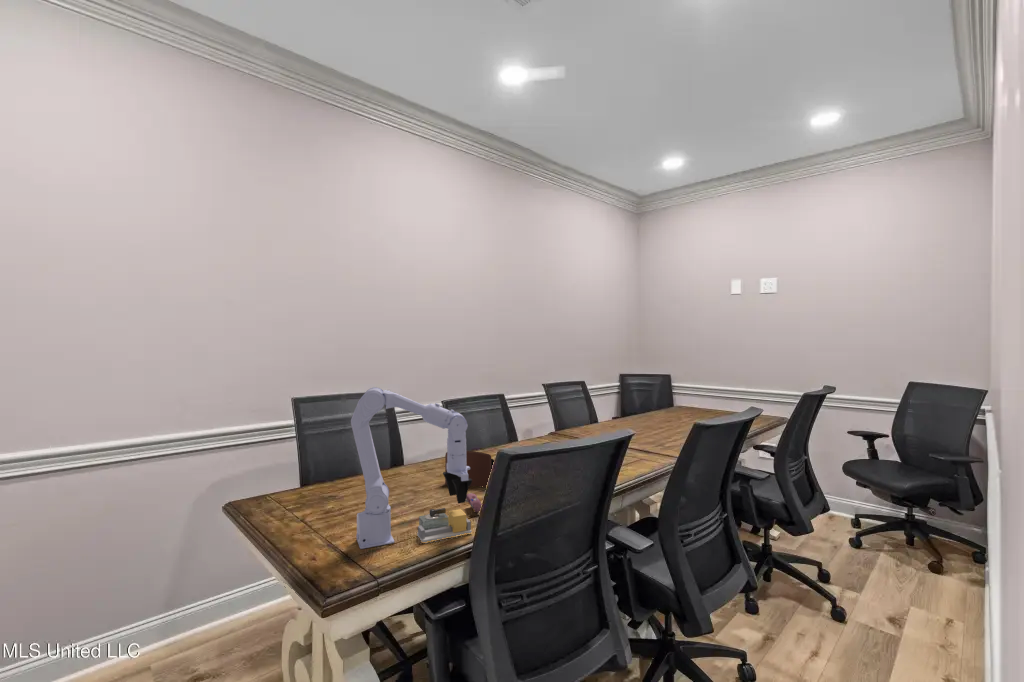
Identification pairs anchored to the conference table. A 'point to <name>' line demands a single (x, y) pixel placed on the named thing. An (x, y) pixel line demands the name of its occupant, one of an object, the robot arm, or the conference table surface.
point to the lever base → (433, 521)
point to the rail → (440, 532)
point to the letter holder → (477, 467)
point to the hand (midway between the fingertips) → (457, 498)
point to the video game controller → (474, 502)
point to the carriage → (457, 520)
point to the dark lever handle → (437, 511)
